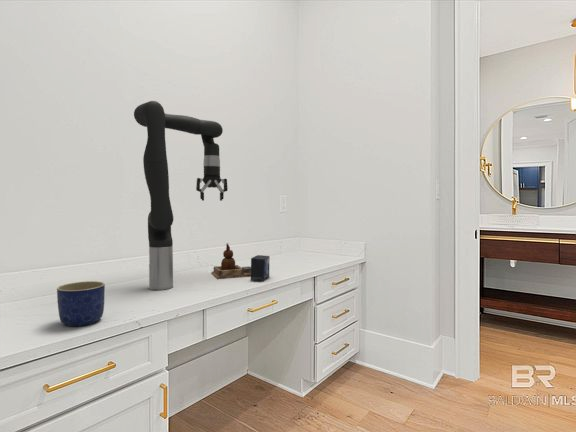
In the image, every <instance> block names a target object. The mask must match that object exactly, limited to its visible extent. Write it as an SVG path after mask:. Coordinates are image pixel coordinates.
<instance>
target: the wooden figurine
mask: <svg viewBox="0 0 576 432" xmlns="http://www.w3.org/2000/svg"><path fill="white" fill-rule="evenodd" d="M225 246H226V248H225V250H224V251H223V252H222V254H223V255H222V256H223V258H222V259H221V260H222V261H221V265H220V266H221V268H222V270H234V269H235V265H236V260H235V258H234V251H233V250H232V249H231V248H230V245H229V244H226V245H225Z"/></svg>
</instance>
